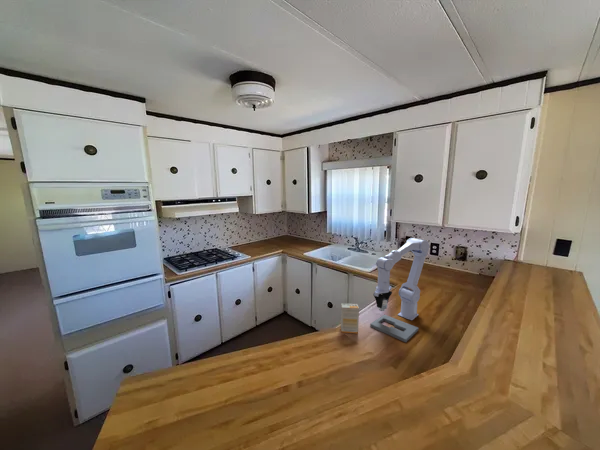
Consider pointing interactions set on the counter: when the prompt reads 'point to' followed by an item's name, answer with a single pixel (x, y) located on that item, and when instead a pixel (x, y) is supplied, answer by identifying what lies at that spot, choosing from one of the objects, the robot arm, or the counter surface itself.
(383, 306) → the headed peg
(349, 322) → the supplement box
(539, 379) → the counter surface
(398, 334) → the keyhole plate
